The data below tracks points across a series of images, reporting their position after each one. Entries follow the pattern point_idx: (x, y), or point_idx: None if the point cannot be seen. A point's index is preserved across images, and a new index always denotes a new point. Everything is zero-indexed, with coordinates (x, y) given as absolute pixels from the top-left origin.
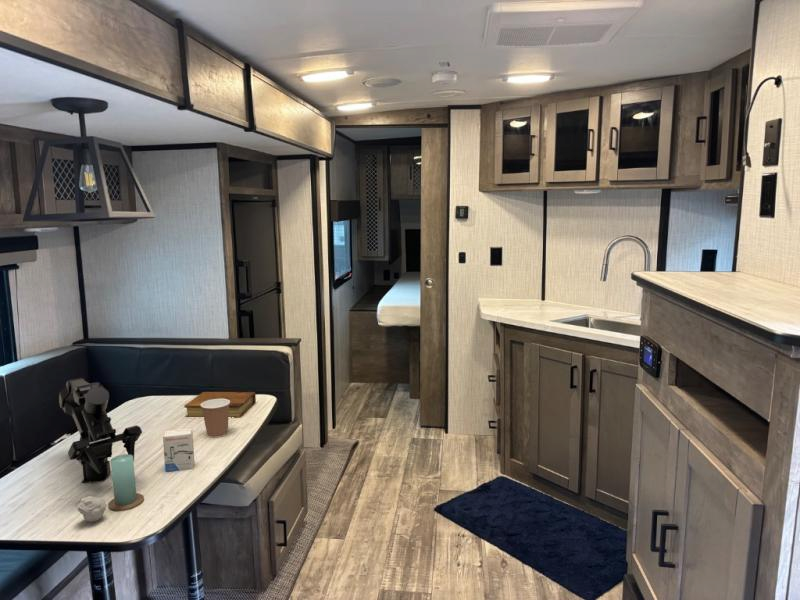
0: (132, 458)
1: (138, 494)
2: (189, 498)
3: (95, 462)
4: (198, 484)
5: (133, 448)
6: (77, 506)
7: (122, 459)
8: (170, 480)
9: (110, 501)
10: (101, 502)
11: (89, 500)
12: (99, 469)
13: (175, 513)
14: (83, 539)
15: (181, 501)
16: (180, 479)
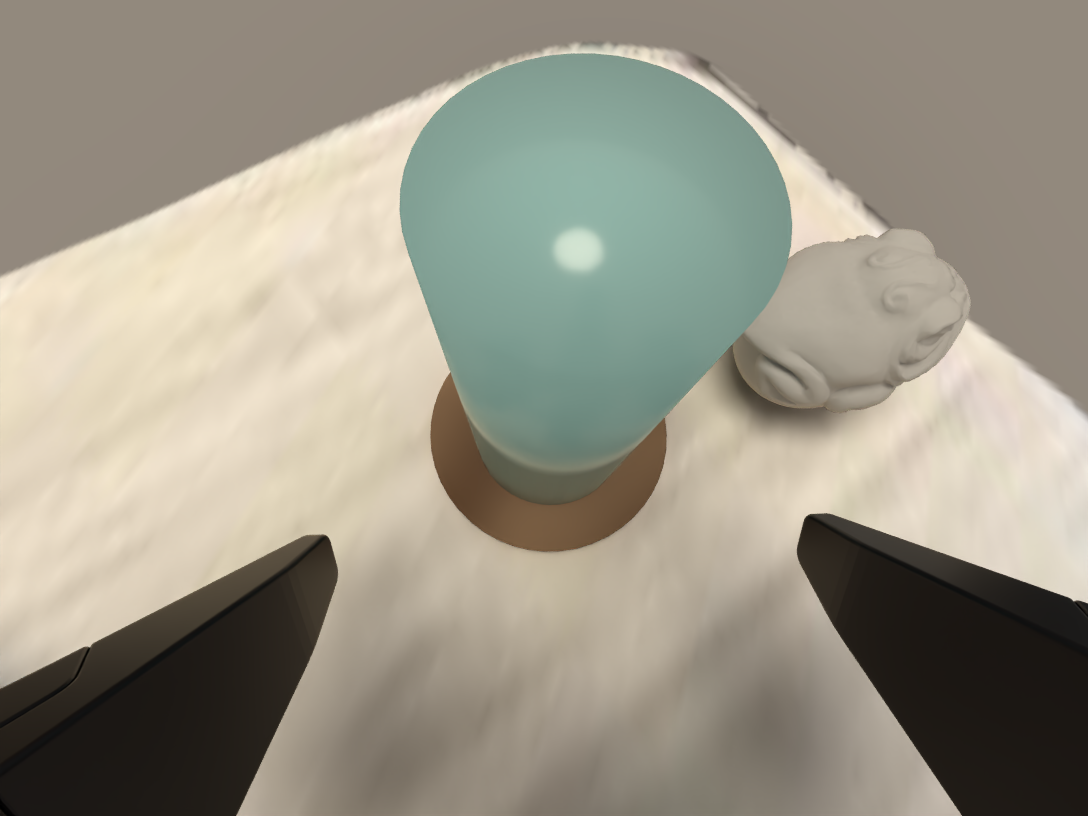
0: (458, 108)
1: (445, 456)
2: (270, 185)
3: (984, 577)
4: (96, 298)
5: (107, 644)
6: (968, 293)
7: (608, 148)
8: (142, 528)
9: (630, 513)
10: (790, 261)
11: (907, 234)
12: (840, 523)
13: (423, 110)
14: (858, 222)
15: (321, 190)
16: (90, 478)
